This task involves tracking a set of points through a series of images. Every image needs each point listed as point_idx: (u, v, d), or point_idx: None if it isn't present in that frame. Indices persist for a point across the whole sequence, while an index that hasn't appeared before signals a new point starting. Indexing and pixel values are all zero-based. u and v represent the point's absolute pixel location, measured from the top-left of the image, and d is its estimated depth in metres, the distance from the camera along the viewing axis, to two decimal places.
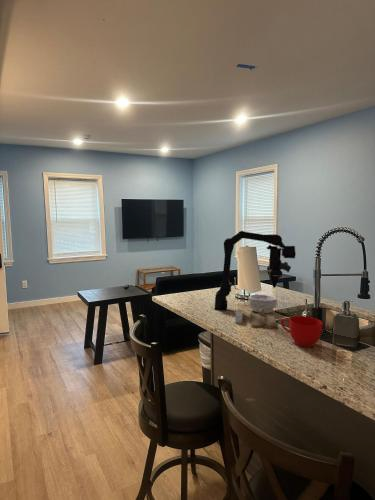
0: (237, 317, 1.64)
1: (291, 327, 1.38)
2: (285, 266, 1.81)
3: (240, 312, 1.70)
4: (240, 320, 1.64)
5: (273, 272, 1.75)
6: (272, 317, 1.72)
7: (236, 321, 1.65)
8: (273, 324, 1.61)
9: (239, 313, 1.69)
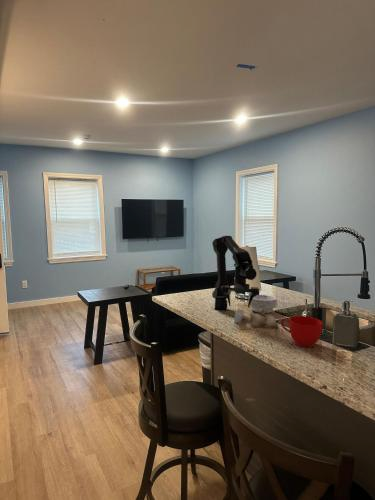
0: (236, 317, 1.65)
1: (291, 327, 1.38)
2: (235, 286, 1.63)
3: (240, 312, 1.70)
4: (239, 320, 1.64)
5: (221, 287, 1.71)
6: (272, 317, 1.72)
7: (235, 321, 1.65)
8: (273, 324, 1.61)
9: (239, 313, 1.69)
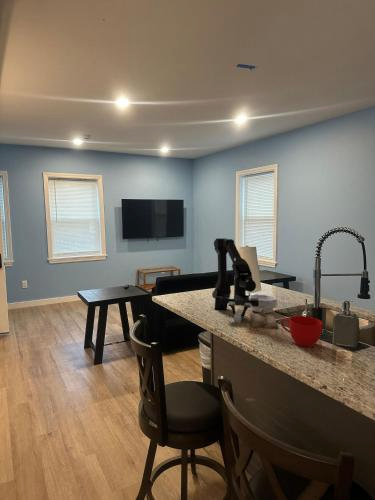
0: (235, 316, 1.65)
1: (291, 327, 1.38)
2: (234, 298, 1.64)
3: (240, 312, 1.70)
4: (238, 319, 1.64)
5: (220, 298, 1.72)
6: (272, 317, 1.72)
7: (234, 320, 1.65)
8: (273, 324, 1.61)
9: (239, 312, 1.69)
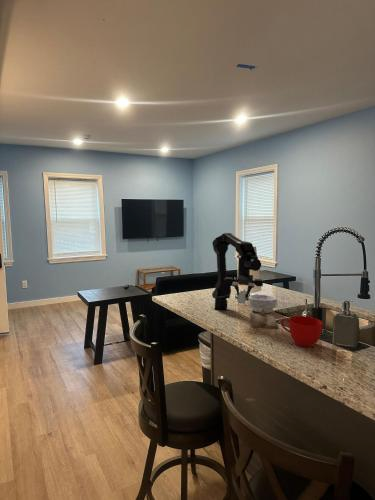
0: (239, 296, 1.63)
1: (291, 327, 1.38)
2: (238, 277, 1.63)
3: (244, 292, 1.69)
4: (242, 299, 1.63)
5: None
6: (272, 317, 1.72)
7: (238, 300, 1.64)
8: (273, 324, 1.61)
9: (243, 293, 1.68)
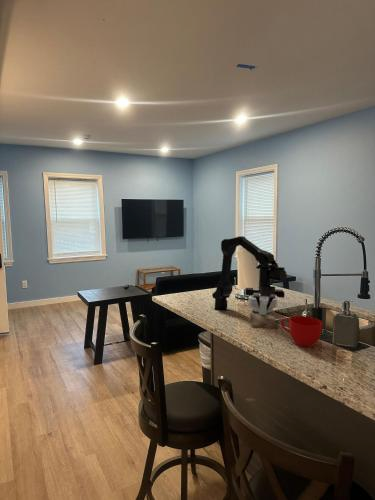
0: (261, 308, 1.63)
1: (291, 327, 1.38)
2: (260, 289, 1.62)
3: (265, 303, 1.68)
4: (264, 311, 1.62)
5: (245, 290, 1.70)
6: (272, 317, 1.72)
7: (260, 312, 1.63)
8: (273, 324, 1.61)
9: (264, 304, 1.67)
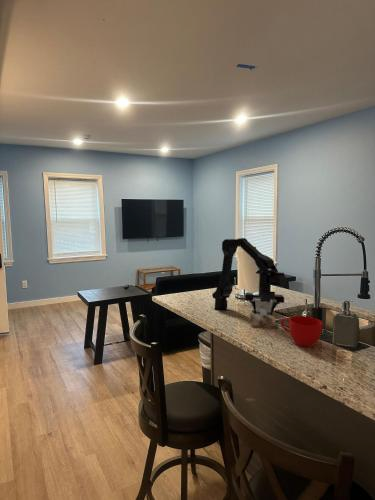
0: (261, 316, 1.63)
1: (291, 327, 1.38)
2: (260, 294, 1.62)
3: (265, 311, 1.68)
4: None
5: None
6: (272, 317, 1.72)
7: (260, 320, 1.63)
8: (273, 324, 1.61)
9: (263, 312, 1.67)
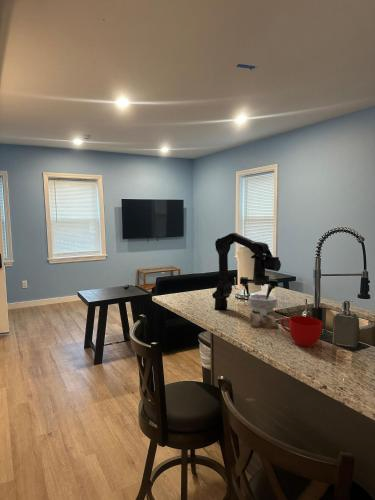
0: (261, 316, 1.63)
1: (291, 327, 1.38)
2: (254, 278, 1.65)
3: (265, 311, 1.68)
4: None
5: (240, 279, 1.73)
6: (272, 317, 1.72)
7: (260, 320, 1.63)
8: (273, 324, 1.61)
9: (263, 312, 1.67)
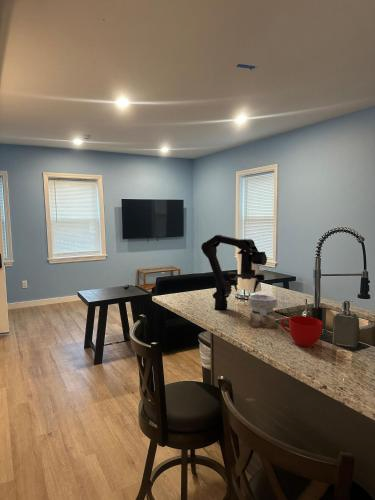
0: (261, 316, 1.63)
1: (291, 327, 1.38)
2: (241, 272, 1.73)
3: (265, 311, 1.68)
4: None
5: (228, 274, 1.81)
6: (272, 317, 1.72)
7: (260, 320, 1.63)
8: (273, 324, 1.61)
9: (263, 312, 1.67)
